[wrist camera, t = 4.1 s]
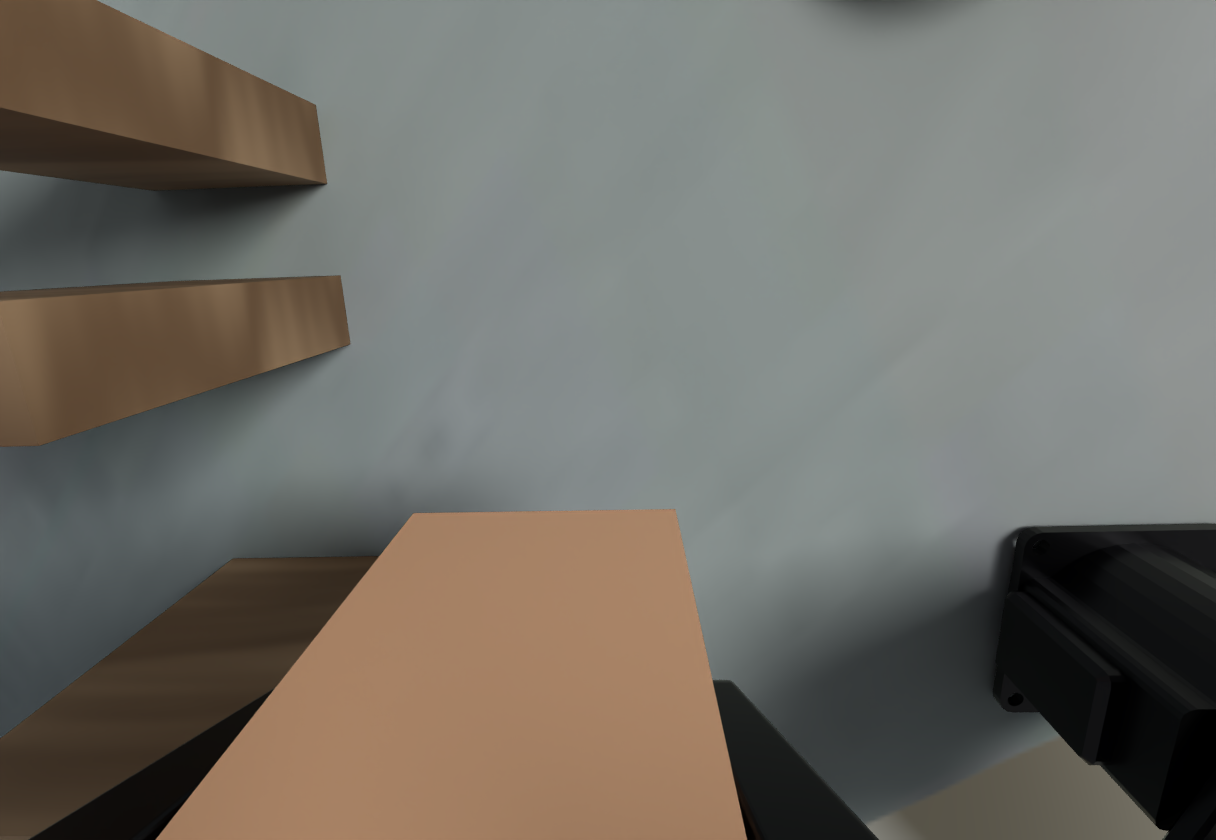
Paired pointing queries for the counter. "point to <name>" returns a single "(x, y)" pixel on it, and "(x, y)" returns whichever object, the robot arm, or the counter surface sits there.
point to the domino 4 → (492, 696)
